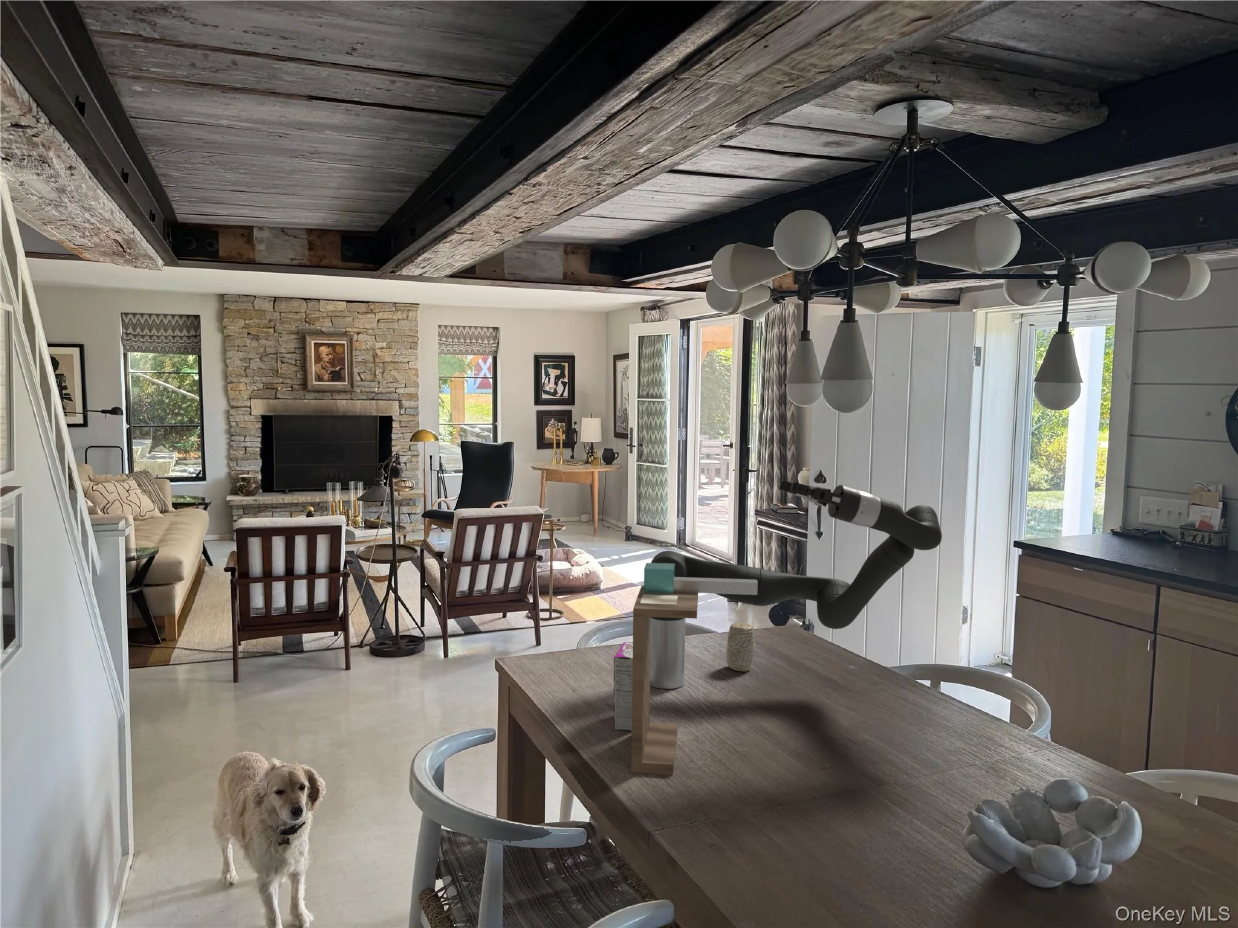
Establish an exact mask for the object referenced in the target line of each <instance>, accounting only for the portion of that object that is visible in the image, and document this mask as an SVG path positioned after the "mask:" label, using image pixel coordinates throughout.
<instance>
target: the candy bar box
mask: <svg viewBox="0 0 1238 928" xmlns="http://www.w3.org/2000/svg"><path fill="white" fill-rule="evenodd" d="M632 674H633V642H629V641H624V642H623V643H622V644H621V645H620V647H619V649H618V651H617V652H616V653H615V654H614V656H613V729H614V730H616V731H623V732H625V731H627V732H632Z"/></svg>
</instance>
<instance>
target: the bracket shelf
mask: <svg viewBox="0 0 1238 928" xmlns="http://www.w3.org/2000/svg"><path fill="white" fill-rule="evenodd" d="M637 594H638V595H637V597H636V599H635V602H634V605H633V608H632V612H633V613H632V643H633V674H632V731H631V763H630V764H631V766H630V767H631V768H630V769H631V770H630V771H631V773H638V774H639V773H640V774H642V773H643V774H653V775H654V774H655V775H656V774H657V775H672V776H674V769H675V760H676V759H675V758H676V749H677V737H678V723H667V722H666V723H665V722H650V709H651V708H650V706H651V705H650V704H651V703H650V702H651V701H650V700H651V699H650V698H651V697H650V696H651V695H650V694H651V685H650V638H651V617H668V618H685V619H695V620H697V619H698V605H699V593H686V592H674V593H673V594H666V593H644V584H641V586H640V589H639V591H638V593H637Z"/></svg>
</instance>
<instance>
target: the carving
mask: <svg viewBox="0 0 1238 928" xmlns="http://www.w3.org/2000/svg"><path fill="white" fill-rule="evenodd" d="M727 635H728V636H727V642H726V651H725V652H726V653H725V655H726V657H725V658H726V659H725V660H726V664H727V666H728V668H730V669H731V670H733V671H738V672H743V673H744V672H748V671H749V670H750V669H751V667H752V663H753V661H754V657H755V650H756V649H755V646H756V645H755V642H756V641H755V629H754V627H753V625H752V624H750V623H747V622H741V621H740V622H734V623H732V624H730V626H729V630H728V634H727Z"/></svg>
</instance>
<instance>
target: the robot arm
mask: <svg viewBox="0 0 1238 928" xmlns="http://www.w3.org/2000/svg"><path fill="white" fill-rule="evenodd" d="M778 489H779V490H780V491H784V492H786V493H790V494H793V496H795V497H800V498H802V499H803V500H805V501H806V502H810V503H814V504H815V505H817V506H821V507H825V508H826V507H827V506H828V509H827V513H828V515H829V517H830V518H832V519H836V520H840V521H842V522H846V523H848V524H852V525H854V526H855V525H856V526H859V527H864V528H865V527H866V528H870V529H873V530H875V531H878V532H879V531H880V532H882V533H886V534H887V535H889V536H888V537H887V538H886V539H885V540H883V541H882V542H881V543H880V544H879V545H878V546H877V547H876V548H875V549H874V550H873V551H871V553H869V555H868V556H867V558H866V559H865V560H864V561H863V562H864V563H863V564H862V566H861V568H860V570H859V571H858V573H857V574H856V576H855V578H854V579H853V581H852V582H851V584H850V583H849V582H847V581H844V580H842V579H837V578H832V577H825V576H824V577H821V576H811V575H810V576H808V575H799V574H791V573H788V572H787V573H786V572H779V571H773V570H770V569H764V568H760V567H754V566H748V565H744V564H743V565H742V564H735V563H728V562H718V561H711V560H705V559H701V558H696V557H694V556H690V555H687V554H683V553H680V552H677V551H673V550H663V551H661V552H658V553H657V554H655V555H654V557H653V558H652V560H651V562H650V563H667V564H675V577H691V578H721V579H752V580H757V582H758V588H757V595H744V594H716V595H717V596H720V597H721V598H724V599H727V600H730V601H733V602H737V603H741V604H746V605H752V606H758V607H764V606H765V607H766V606H770V605H775V604H778V603H782V602H783V601H787V600H792V599H799V600H806V601H812V602H816V613H817V614H816V615H817V618H818V621H819V623H820V624H821V625H823V626H824V627H826V628H827V629H832V630H839V629H840V630H841V629H845V628H846V627H849V625H851V624H852V623H853V622H854V621H855V619H856V618H857V617H858V616H859V615H860V613H861V612H862V611H863V609H864V608H865V607H866V606H867V604H868V603H869V602H870V601H871V600H872V598H873V597H874V596H875V595H876V594H877V593H878V591H879V590H880V589H881V588H882V587H883V586H884V585H885V583H887V582H888V580H890V579H891V577H893V576H894V575H895V574H896V573H897V572H899V571H900V570H901V569H902V568H903V567H905V565H907V564H908V563H909V562H910V561H911V560H912V559H913V557H914V555H915V550H919V551H930V550H933V549H936V548H937V547H938V546H939V545H940V544H941V542H942V539H943V533H942V530H941V526H940V523H939V522H940V521H939V518H938V515H937V513H936V510H934V508H932V507H931V506H929V505H926V504H920V505H915V506H913V507H911V508H909V509H907V510H906V511H904V509H903V508H902V506H901V505H900V504H899V503H897V502H894V501H892V500H887V499H885V498H881V497H878V496H876V495H873V494H871V493H869V492H866V491H864V490H863V491H862V490H859V489H856V488H852V487H849V486H848V485H844V484H839V485H837V486H836V487H835V488H834V490H833V491H832V489H830V488H826V487H822V486H814V485H810V484H802V483H799V482H796V481H793V482H790V481H787V480H780V483H779V486H778ZM685 665H686V618H668V617H651V638H650V687H654V688H656V689H662V690H663V689H665V690H672V689H678V688H682V687H683V686H684V685H685V669H686V667H685Z"/></svg>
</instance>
